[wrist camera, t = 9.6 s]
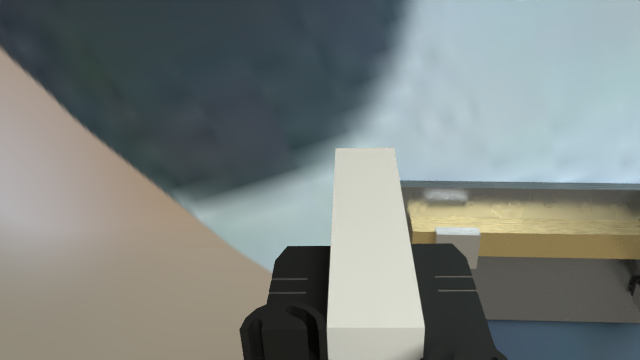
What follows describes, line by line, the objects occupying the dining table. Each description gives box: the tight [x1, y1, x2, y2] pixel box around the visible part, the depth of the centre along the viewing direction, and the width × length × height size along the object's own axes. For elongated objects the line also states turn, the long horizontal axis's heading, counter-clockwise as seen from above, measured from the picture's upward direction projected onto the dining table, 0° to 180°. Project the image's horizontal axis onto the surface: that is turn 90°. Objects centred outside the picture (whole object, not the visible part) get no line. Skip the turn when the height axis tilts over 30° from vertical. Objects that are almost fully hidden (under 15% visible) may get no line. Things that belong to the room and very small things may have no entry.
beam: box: [409, 217, 640, 269], centre depth 40 cm, size 7×25×3 cm, turn 90°
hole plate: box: [400, 181, 640, 323], centre depth 42 cm, size 12×28×1 cm, turn 90°
